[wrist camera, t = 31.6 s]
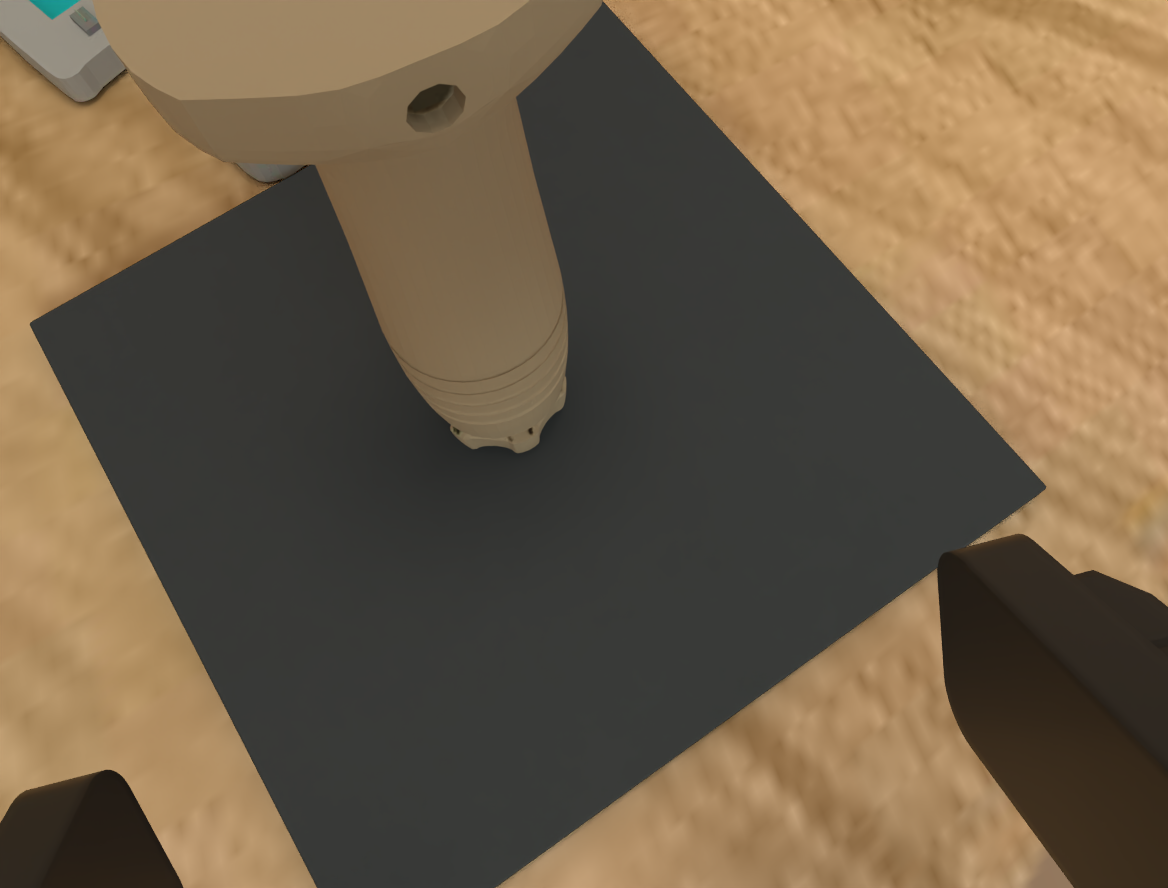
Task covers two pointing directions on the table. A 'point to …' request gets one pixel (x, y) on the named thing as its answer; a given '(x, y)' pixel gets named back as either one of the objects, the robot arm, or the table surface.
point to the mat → (522, 487)
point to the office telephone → (79, 54)
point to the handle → (394, 167)
